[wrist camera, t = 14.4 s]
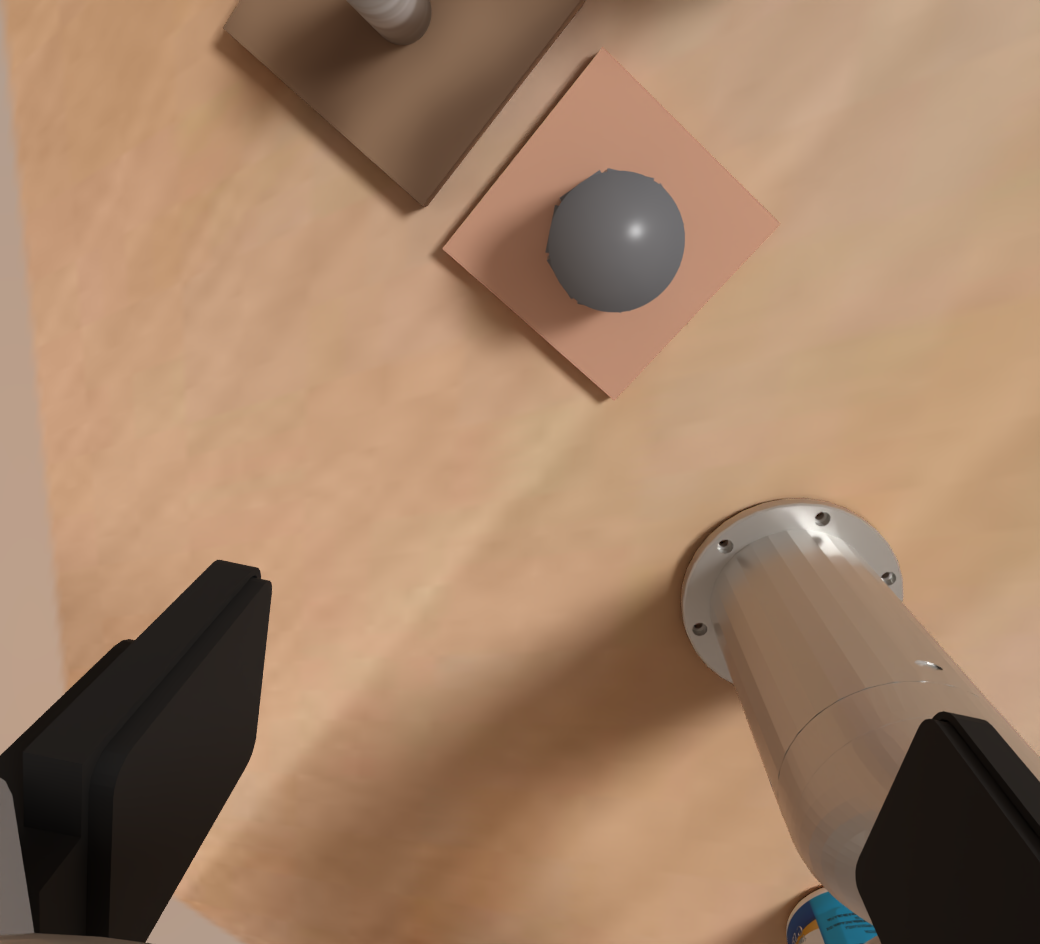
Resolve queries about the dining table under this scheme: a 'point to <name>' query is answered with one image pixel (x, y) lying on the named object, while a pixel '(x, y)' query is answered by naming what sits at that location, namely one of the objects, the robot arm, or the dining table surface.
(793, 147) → the dining table surface
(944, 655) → the robot arm
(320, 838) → the dining table surface
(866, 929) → the beverage bottle
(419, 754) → the dining table surface
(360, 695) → the dining table surface
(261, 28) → the post base
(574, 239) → the cap
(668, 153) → the tile
